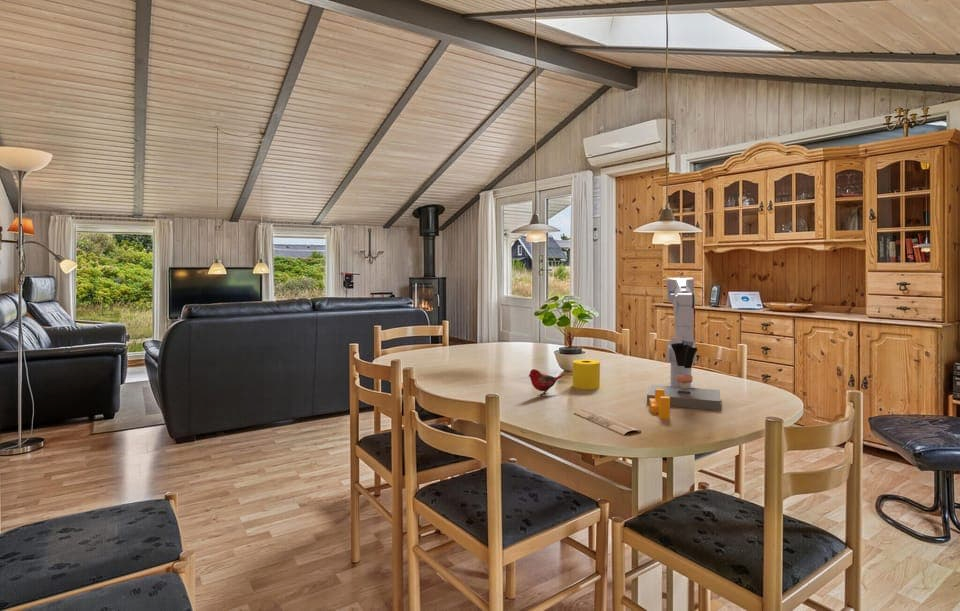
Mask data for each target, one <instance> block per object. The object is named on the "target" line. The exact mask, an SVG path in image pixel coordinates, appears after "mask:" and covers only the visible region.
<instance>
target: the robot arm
mask: <svg viewBox="0 0 960 611" xmlns="http://www.w3.org/2000/svg"><path fill="white" fill-rule="evenodd" d="M666 297H667V301H668V302H670V303H671V304H672V307H673V314H674V315H673V316H674V317H673V318H674V319H673V320H674V338H671V339H670V340H669V341H668V342H667V347H666V348H667V349H666V360H667V363H670V383H669V385H668V386H675V387H680V382H677V381H676V375H678V374H686V375H691V376H692V370H693V369H692V368H693V364H695V363H697V362H696V361H697V352H698V347H696V344H695V343H698V340H697V339H694V337H695V336H694V333H695V332H694V310H695V308H696V295H695V279H694V278H693V277H667V279H666ZM688 388H694V387H693V383H692V382H691V383H688Z"/></svg>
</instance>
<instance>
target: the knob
mask: <svg viewBox="0 0 960 611" xmlns="http://www.w3.org/2000/svg"><path fill="white" fill-rule="evenodd" d="M676 381H677V382H680V389H681V390H688V383H691V384H692V383H693V375H692V374H691V375H686V374H678V375H676Z"/></svg>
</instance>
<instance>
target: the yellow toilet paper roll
mask: <svg viewBox="0 0 960 611" xmlns="http://www.w3.org/2000/svg"><path fill="white" fill-rule="evenodd" d="M600 367H601V361H600V360H595V359H590V358H589V359H586V358H585V359H584V358H583V359H574V360H573V361H572V388H574V387H576V388H575V389H578V388H581V389H580V390H596V389H595V388H597V389H600V384H601V383H600V381H601V378H600V376H601V374H600V373H601V368H600Z"/></svg>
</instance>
